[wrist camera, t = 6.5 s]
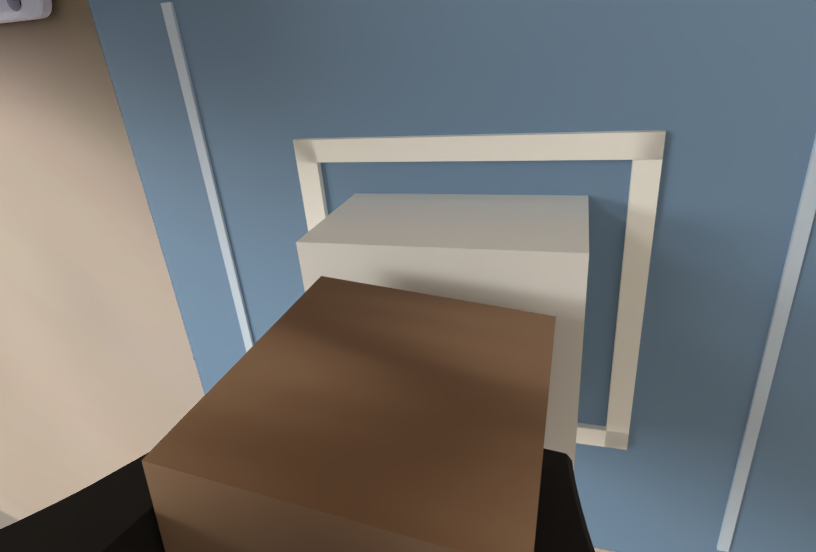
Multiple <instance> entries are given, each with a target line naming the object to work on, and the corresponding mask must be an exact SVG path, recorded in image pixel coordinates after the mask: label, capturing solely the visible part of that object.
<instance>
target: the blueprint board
mask: <svg viewBox="0 0 816 552" xmlns="http://www.w3.org/2000/svg"><path fill="white" fill-rule="evenodd" d="M88 3H89V7H90V10H91V13H92V17H93V20H94V24H95V27H96V30H97V34H98V37H99V40H100V44H101V47H102V50H103V54H104V57H105V61H106V64H107V67H108V71H109V74H110V77H111V81H112V84H113V87H114V91H115V94H116V98H117V101H118V104H119V108H120V111H121V114H122V118H123V121H124V124H125V128H126V131H127V135H128V138H129V141H130V145H131V148H132V151H133V155H134V158H135V161H136V165H137V168H138V172H139V175H140V178H141V182H142V185H143V188H144V192H145V195H146V198H147V202H148V205H149V209H150V212H151V215H152V219H153V222H154V225H155V229H156V232H157V235H158V239H159V242H160V246H161V249H162V252H163V256H164V259H165V262H166V266H167V269H168V272H169V276H170V279H171V283H172V286H173V289H174V293H175V296H176V299H177V303H178V306H179V309H180V313H181V316H182V320H183V323H184V326H185V330H186V333H187V336H188V340H189V343H190V346H191V350H192V353H193V357H194V360H195V363H196V367H197V370H198V373H199V377H200V380H201V383H202V387H203V390H204V394H205V395H206V394H207V393H208V392H209V391H210V390H211V389H212V388H213V386H214V385H215V384H216V383H217V382H218V381H219V380H220V379H221V378H222V377H223V376H224V375H225V374H226V373H227V372H228V371H229V370H230V369H231V368H232V367H233V366H234V365H235V364H236V363H237V362H238V361H239V360H240V359H241V358H242V357H243V356H244V355H245V354H246V353H247V352H248V351H249V349H250V348H251V347H252V346H253V345H254V344H255V343H256V342H257V341H258V340H259V339H260V338H261V337H262V336H263V335H264V334H265V333H266V332H267V331H268V330H269V329H270V328H271V327H272V326H273V325H274V324H275V323H276V322H277V321H278V320H279V319H280V318H281V317H282V316H283V315H284V313H285V312H286V311H287V310H288V309H289V308H290V307H291V306H292V305H293V304H294V303H295V302H296V301H297V300H298V299H299V298H300V297H301V296H302V295H303V294H304V293H305V290H304V285H303V279H302V273H301V268H300V262H299V257H298V251H297V246H296V242H297V241H298V240H299V239H300V238H301V237H303V236H304V235H305V234H306V233H307V232H309V231H310V230H311V229H312V228H314V227H315V226H316V225H317V224H318V223H320V222H321V221H322V220H323V219H325V218H326V217H327V216H328V215H329V214H331V213H332V212H333V211H334V210H335V209H337V208H338V207H339V206H340V205H342V204H343V203H344V202H345V201H346V200H348V199H349V198H350V197H351V196H353V195H354V194H355V193H377V194H488V195H588V207H589V263H588V277H587V292H586V306H585V320H584V335H583V349H582V363H581V378H580V392H579V406H578V421H577V435H576V449H575V464H574V476H575V481H576V486H577V490H578V495H579V499H580V503H581V507H582V510H583V514H584V517H585V521H586V524H587V528H588V531H589V535H590V538H591V541H592V544H593V547H594V548H600V549H605V550H610V551H616V552H816V0H88Z"/></svg>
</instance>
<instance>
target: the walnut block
mask: <svg viewBox="0 0 816 552" xmlns="http://www.w3.org/2000/svg"><path fill="white" fill-rule="evenodd" d="M555 321H556V316H550V315H544V314H538V313H533V312H527V311H521V310H515V309H509V308H504V307H498V306H492V305H486V304H481V303H475V302H469V301H463V300H458V299H452V298H446V297H440V296H434V295H429V294H423V293H417V292H411V291H406V290H400V289H394V288H388V287H383V286H377V285H371V284H365V283H359V282H354V281H348V280H342V279H336V278H331V277H325V276H320V278H319V279H318V280H317V281H316V282H315V283H314V284H313V285H312V286H311V287H310V288H309V289H308V290H307V291H306V292H305V293H304V294H303V295H302V296H301V297H300V298H299V299H298V300H297V301H296V302H295V303H294V304H293V305H292V306H291V307H290V308H289V309H288V310H287V311H286V312H285V313H284V315H283V316H282V317H281V318H280V319H279V320H278V321H277V322H276V323H275V324H274V325H273V326H272V327H271V328H270V329H269V330H268V331H267V332H266V333H265V334H264V335H263V336H262V337H261V338H260V339H259V340H258V341H257V342H256V343H255V344H254V345H253V346H252V347H251V348H250V349H249V351H248V352H247V353H246V354H245V355H244V356H243V357H242V358H241V359H240V360H239V361H238V362H237V363H236V364H235V365H234V366H233V367H232V368H231V369H230V370H229V371H228V372H227V373H226V374H225V375H224V376H223V377H222V378H221V379H220V380H219V381H218V382H217V383H216V384H215V385H214V386H213V388H212V389H211V390H210V391H209V392H208V393H207V394H206V395H205V396H204V397H203V398H202V399H201V400H200V401H199V402H198V403H197V404H196V405H195V406H194V407H193V408H192V409H191V410H190V411H189V412H188V413H187V414H186V415H185V416H184V417H183V418H182V419H181V420H180V421H179V422H178V423H177V425H176V426H175V427H174V428H173V429H172V430H171V431H170V432H169V433H168V434H167V435H166V436H165V437H164V438H163V439H162V440H161V441H160V442H159V443H158V444H157V445H156V446H155V447H154V448H153V449H152V450H151V451H150V452H149V453H148V454H147V455H146V456H145V457H144V458H143V459H142V460H141V461H142V465H143V468H144V472H145V476H146V480H147V484H148V488H149V491H150V495H151V499H152V503H153V507H154V511H155V514H156V518H157V522H158V526H159V530H160V534H161V537H162V541H163V545H164V549H165V552H534V544H535V534H536V523H537V512H538V502H539V491H540V481H541V470H542V459H543V449H544V438H545V428H546V417H547V406H548V396H549V385H550V375H551V364H552V353H553V343H554V332H555Z"/></svg>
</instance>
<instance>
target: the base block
mask: <svg viewBox="0 0 816 552" xmlns="http://www.w3.org/2000/svg"><path fill="white" fill-rule="evenodd" d="M296 246H297V251H298V257H299V262H300V268H301V273H302V279H303V285H304V290H305V292H306V291H307V290H308V289H309V288H310V287H311V286H312V285H313V284H314V283H315V282H316V281H317V280H318V279H319V278H320V276H325V277H331V278H336V279H342V280H348V281H354V282H359V283H365V284H371V285H377V286H383V287H388V288H394V289H400V290H406V291H411V292H417V293H423V294H429V295H434V296H440V297H446V298H452V299H458V300H463V301H469V302H475V303H481V304H486V305H492V306H498V307H504V308H509V309H515V310H521V311H527V312H533V313H538V314H544V315H550V316H556V321H555V332H554V343H553V353H552V364H551V375H550V385H549V396H548V406H547V417H546V428H545V438H544V448H545V449H549V450H553V451H558V452H562V453H566V454H567V455H568V456H569V457H570V459H571V460H572V463H573V470H574V464H575V449H576V435H577V421H578V406H579V392H580V378H581V363H582V349H583V335H584V320H585V306H586V292H587V277H588V263H589V207H588V195H488V194H377V193H355V194H354V195H353V196H351V197H350V198H349V199H348V200H346V201H345V202H344V203H343V204H342V205H340V206H339V207H338V208H337V209H335V210H334V211H333V212H332V213H331V214H329V215H328V216H327V217H326V218H325V219H323V220H322V221H321V222H320V223H318V224H317V225H316V226H315V227H314V228H312V229H311V230H310V231H309V232H307V233H306V234H305V235H304V236H303V237H301V238H300V239H299V240H298V241H297V242H296Z"/></svg>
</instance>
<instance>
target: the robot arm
mask: <svg viewBox="0 0 816 552" xmlns="http://www.w3.org/2000/svg"><path fill="white" fill-rule="evenodd" d="M21 4H22V6H21ZM21 4H20V2H19V0H0V23H9V22H18V21H27V20H36V19H44V18H46V17H48V16H49V15H50V13H51V11H52V1H51V0H21ZM147 454H148V453H147ZM147 454H145V455H143V456H142V457H140V458H138V459H136V460H135V461H133V462H131V463H129V464H127V465H126V466H124V467H122V468H120V469H119V470H117V471H115V472H113V473H111V474H110V475H108V476H106V477H104V478H103V479H101V480H99V481H97V482H95V483H94V484H92V485H90V486H88V487H86V488H84V489H82V490H81V491H79V492H77V493H75V494H73V495H71V496H69V497H67V498H65V499H63V500H61V501H59V502H57V503H55V504H53V505H51V506H49V507H47V508H45V509H43V510H40V511H38V512H36V513H34V514H32V515H30V516H28V517H26V518H24V519H22V520H20V521H17V522H15V523H13V524H11V525H9V526H7V527H4V528H2V529H0V552H165V549H164V545H163V541H162V537H161V534H160V530H159V526H158V522H157V518H156V514H155V511H154V507H153V503H152V499H151V495H150V491H149V488H148V484H147V480H146V476H145V472H144V468H143V465H142V461H141V460H142V459H143V458H144V457H145V456H146V455H147ZM534 552H595V551H594V547H593V544H592V541H591V538H590V535H589V531H588V528H587V524H586V521H585V517H584V514H583V510H582V507H581V503H580V499H579V495H578V490H577V486H576V481H575V476H574V470H573V463H572V460H571V459H570V457H569V456H568V455H567V454H566V453H562V452H558V451H553V450H549V449H545V448H544V449H543V459H542V470H541V481H540V491H539V502H538V512H537V523H536V534H535V544H534Z"/></svg>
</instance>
